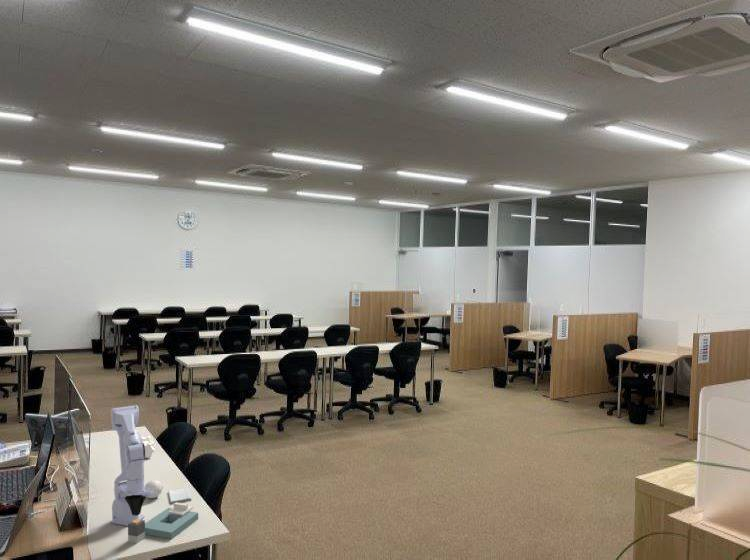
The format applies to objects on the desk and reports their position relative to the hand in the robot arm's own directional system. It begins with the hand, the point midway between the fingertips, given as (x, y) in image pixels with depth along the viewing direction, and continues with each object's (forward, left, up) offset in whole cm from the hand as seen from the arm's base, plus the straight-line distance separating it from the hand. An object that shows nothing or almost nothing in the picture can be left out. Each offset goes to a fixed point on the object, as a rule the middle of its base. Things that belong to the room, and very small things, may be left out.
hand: (136, 514), depth 197 cm
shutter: (+5, +19, -7) cm, 20 cm away
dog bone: (-57, +72, -10) cm, 92 cm away
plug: (0, 0, -10) cm, 10 cm away
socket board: (+5, +12, -9) cm, 16 cm away
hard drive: (-8, +35, -10) cm, 37 cm away
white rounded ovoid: (-18, +32, -10) cm, 38 cm away
